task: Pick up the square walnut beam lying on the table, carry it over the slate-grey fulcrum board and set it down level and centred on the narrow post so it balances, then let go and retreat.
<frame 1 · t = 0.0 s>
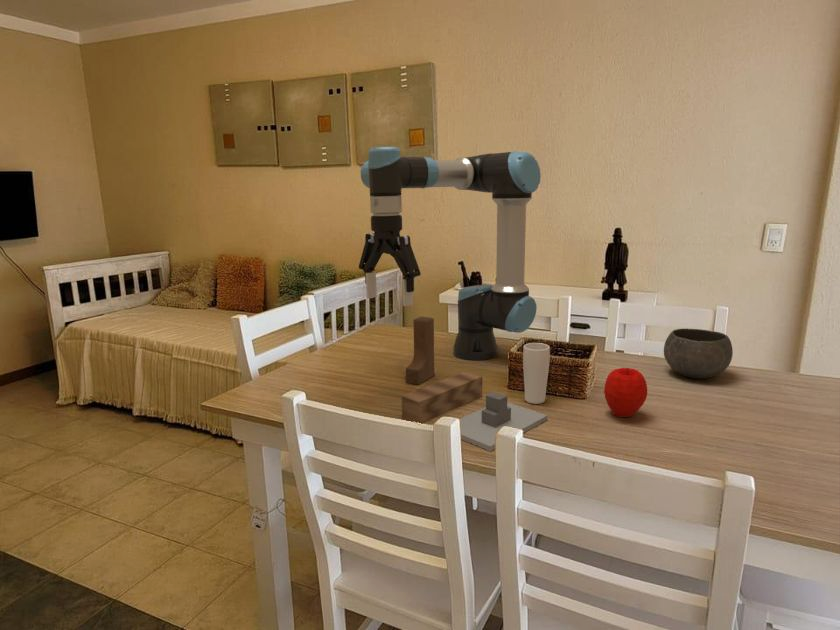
hand: (389, 301, 135), 28 cm above the table, fingers open, 13 cm apart
wooden block: (420, 379, 161), on the table
beam: (444, 407, 141), on the table
apple: (623, 416, 133), on the table
fulcrum: (496, 425, 129), on the table
bowl: (694, 375, 160), on the table
drinking glass: (534, 401, 143), on the table
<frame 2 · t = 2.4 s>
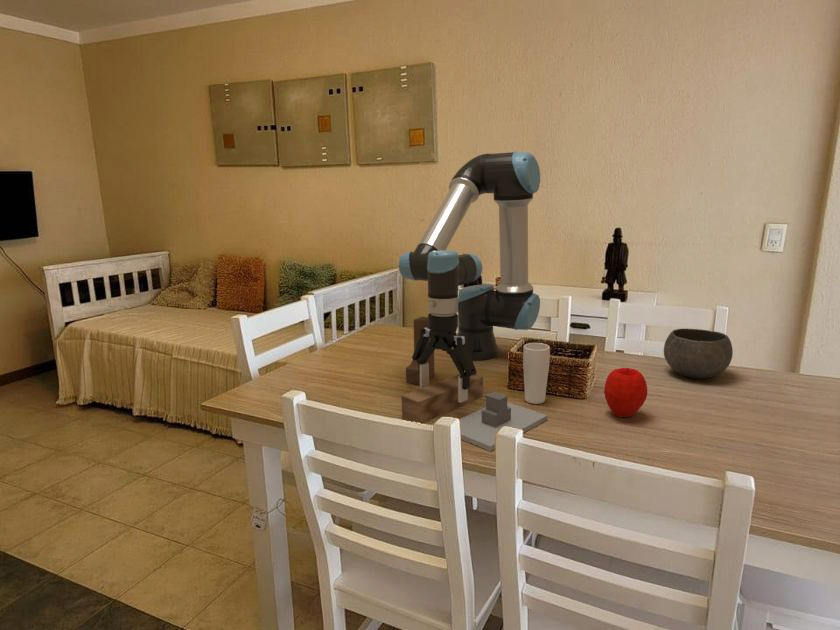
hand: (443, 394, 140), 4 cm above the table, fingers open, 13 cm apart
nothing on the table moved.
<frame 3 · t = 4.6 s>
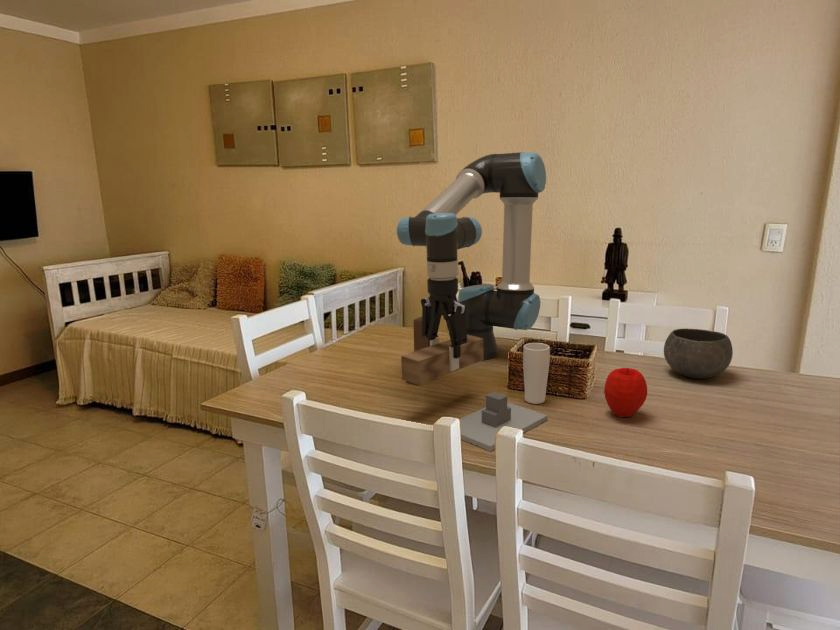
hand: (444, 366, 139), 11 cm above the table, fingers closed on beam, 6 cm apart
beam: (444, 369, 139), point 10 cm above the table, touching gripper
everything else where it was.
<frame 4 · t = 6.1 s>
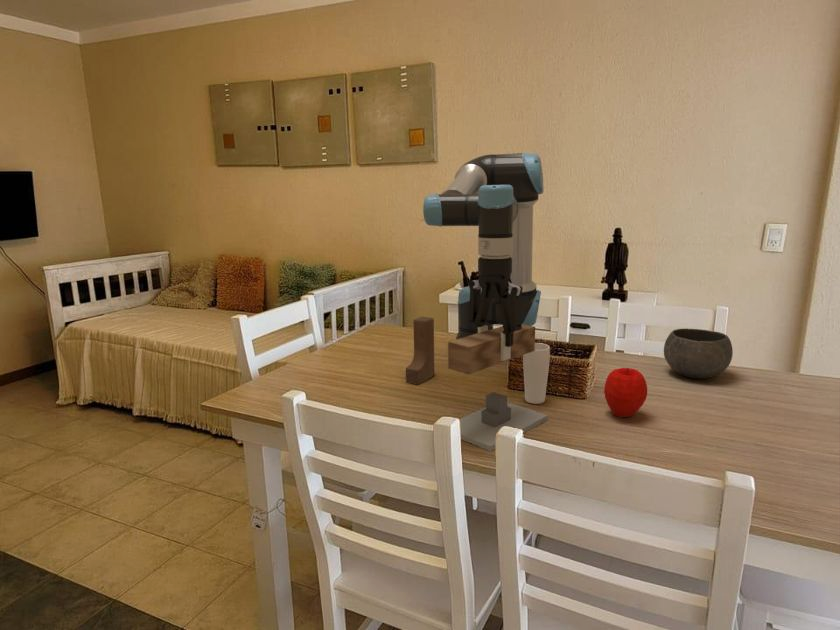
hand: (493, 356, 126), 17 cm above the table, fingers closed on beam, 6 cm apart
beam: (493, 359, 126), point 17 cm above the table, touching gripper
everything else where it was.
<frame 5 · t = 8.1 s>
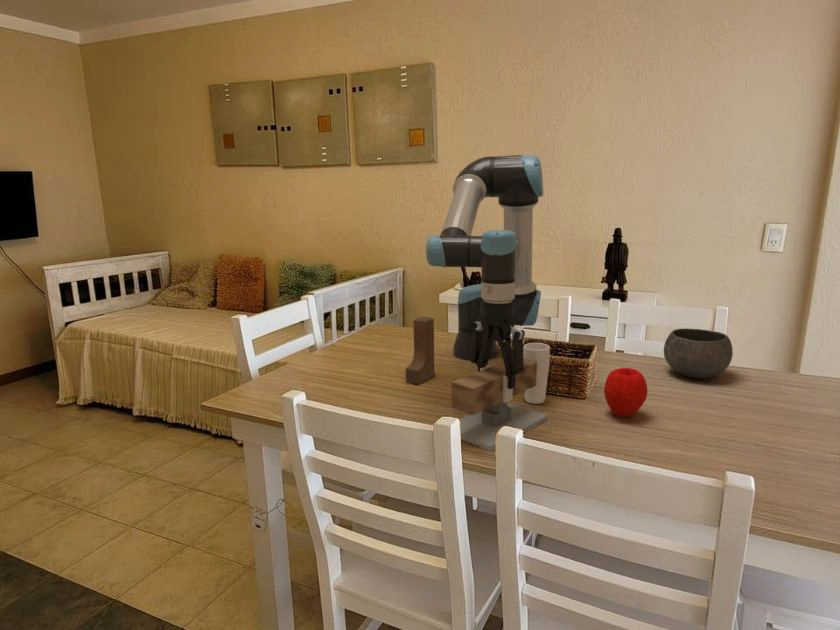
hand: (495, 396, 127), 7 cm above the table, fingers closed on beam, 6 cm apart
beam: (496, 396, 127), point 8 cm above the table, touching fulcrum, gripper
everything else where it was.
when the fingers open (7 cm above the table, at t = 8.8 s): beam stays where it is, resting on fulcrum.
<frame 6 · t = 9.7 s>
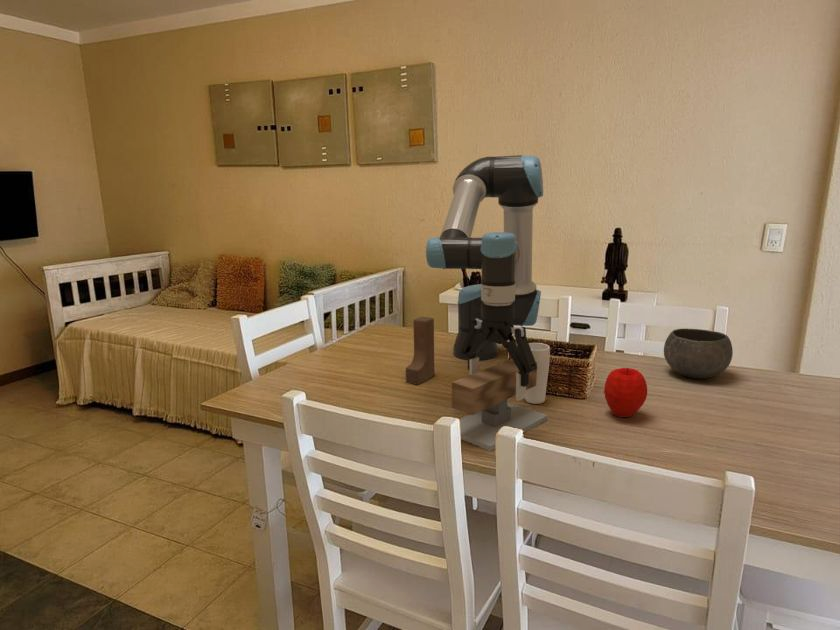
hand: (496, 391, 127), 9 cm above the table, fingers open, 13 cm apart
beam: (496, 396, 127), point 8 cm above the table, touching fulcrum
everything else where it was.
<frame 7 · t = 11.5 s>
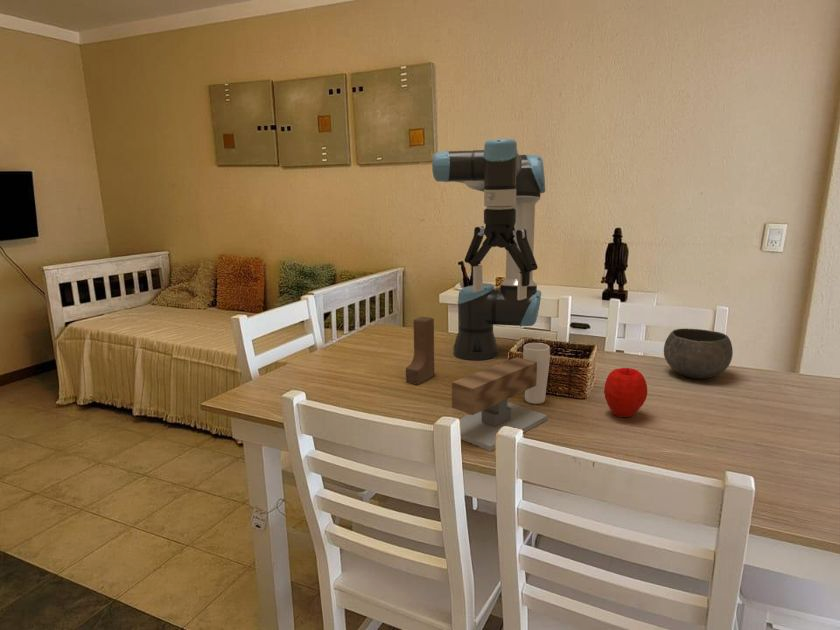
hand: (499, 295, 134), 29 cm above the table, fingers open, 13 cm apart
nothing on the table moved.
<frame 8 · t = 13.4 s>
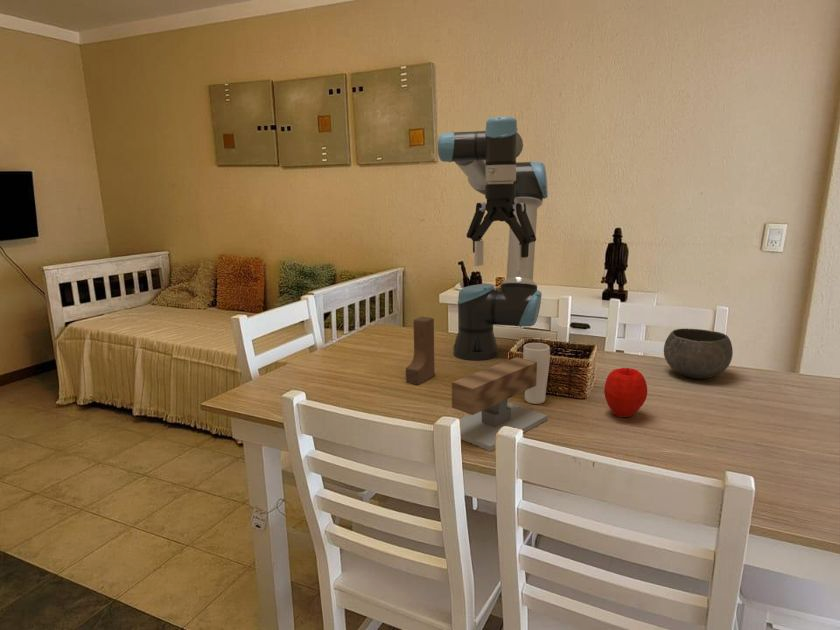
hand: (499, 268, 140), 35 cm above the table, fingers open, 13 cm apart
nothing on the table moved.
at the end: beam 0.2 cm off-centre on the fulcrum, point 7.6 cm above the fulcrum's base; beam tilted 0°; beam touching fulcrum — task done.
